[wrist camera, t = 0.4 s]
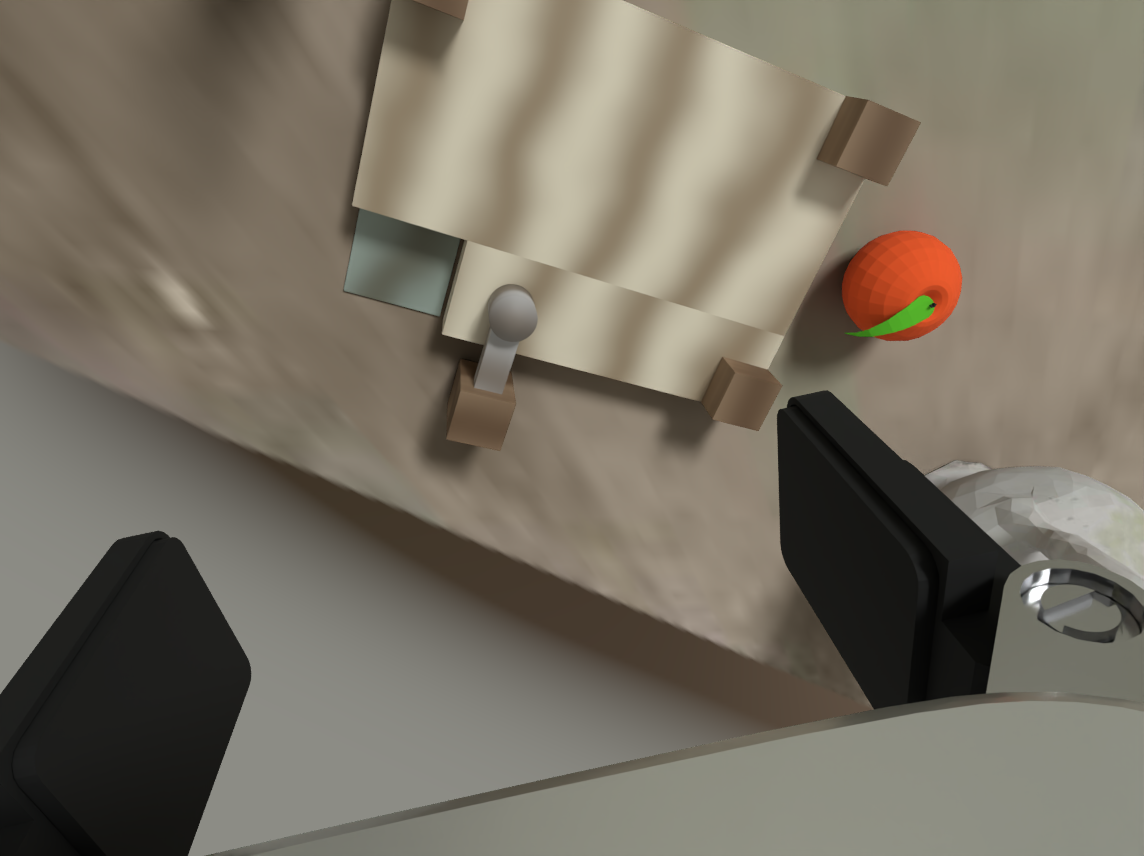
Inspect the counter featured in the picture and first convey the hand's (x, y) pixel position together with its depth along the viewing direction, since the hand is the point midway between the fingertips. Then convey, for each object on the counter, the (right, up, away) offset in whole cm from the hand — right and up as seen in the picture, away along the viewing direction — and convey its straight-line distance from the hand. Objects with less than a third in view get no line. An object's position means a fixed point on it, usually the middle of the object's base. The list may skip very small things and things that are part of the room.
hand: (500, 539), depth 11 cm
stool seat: (+3, +16, +31) cm, 35 cm away
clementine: (+21, +12, +37) cm, 44 cm away
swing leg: (-4, +7, +35) cm, 36 cm away
